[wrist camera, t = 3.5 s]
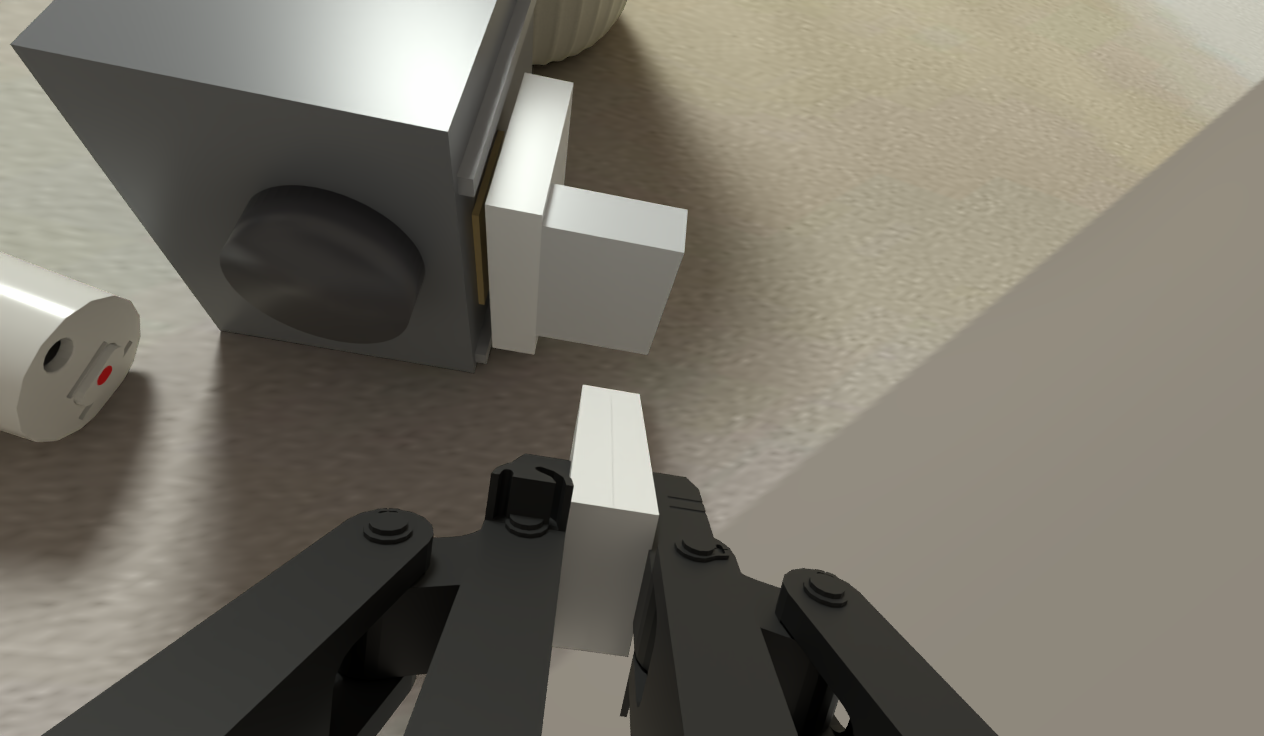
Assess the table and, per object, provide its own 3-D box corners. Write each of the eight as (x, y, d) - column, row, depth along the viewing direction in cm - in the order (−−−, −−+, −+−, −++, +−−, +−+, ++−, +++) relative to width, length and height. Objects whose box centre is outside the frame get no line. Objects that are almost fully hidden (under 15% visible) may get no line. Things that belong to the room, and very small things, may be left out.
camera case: (199, 368, 22) (-81, 46, 12) (326, 124, 28) (219, -224, 18) (475, 413, 23) (443, 149, 12) (538, 166, 29) (551, -144, 19)
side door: (492, 347, 23) (484, 204, 17) (521, 231, 25) (524, 72, 19) (641, 373, 23) (687, 243, 17) (654, 256, 26) (698, 109, 20)
